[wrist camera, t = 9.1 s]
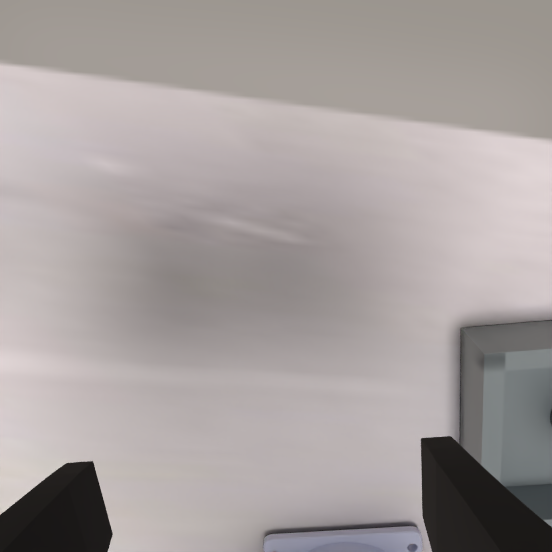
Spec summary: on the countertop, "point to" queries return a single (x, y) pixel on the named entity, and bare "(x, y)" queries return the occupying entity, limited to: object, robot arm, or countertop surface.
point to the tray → (510, 407)
